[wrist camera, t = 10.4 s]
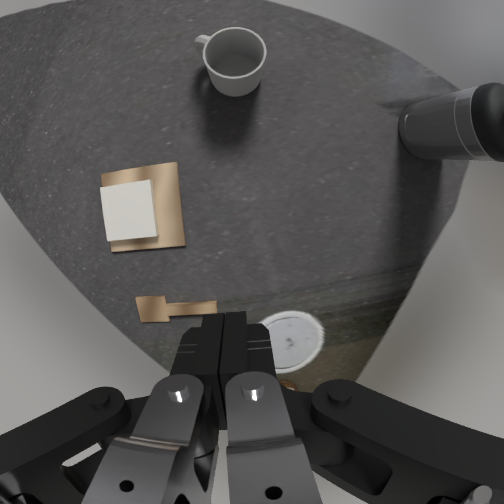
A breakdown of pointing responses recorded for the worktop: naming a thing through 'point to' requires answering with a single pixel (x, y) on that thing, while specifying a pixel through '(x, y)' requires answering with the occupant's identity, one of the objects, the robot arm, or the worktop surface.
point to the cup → (233, 59)
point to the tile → (129, 210)
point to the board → (164, 203)
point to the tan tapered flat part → (170, 308)
